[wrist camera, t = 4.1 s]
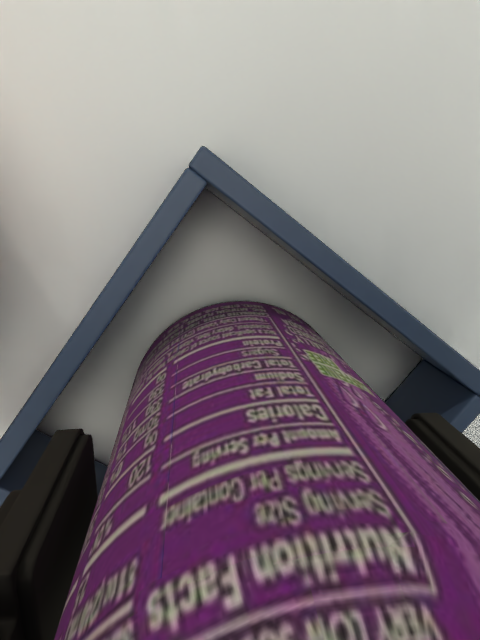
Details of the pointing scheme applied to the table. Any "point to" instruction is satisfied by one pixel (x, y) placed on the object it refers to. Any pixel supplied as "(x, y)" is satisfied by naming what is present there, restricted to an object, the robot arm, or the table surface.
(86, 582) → the beverage can
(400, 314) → the blue square frame
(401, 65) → the table surface
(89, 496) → the robot arm
